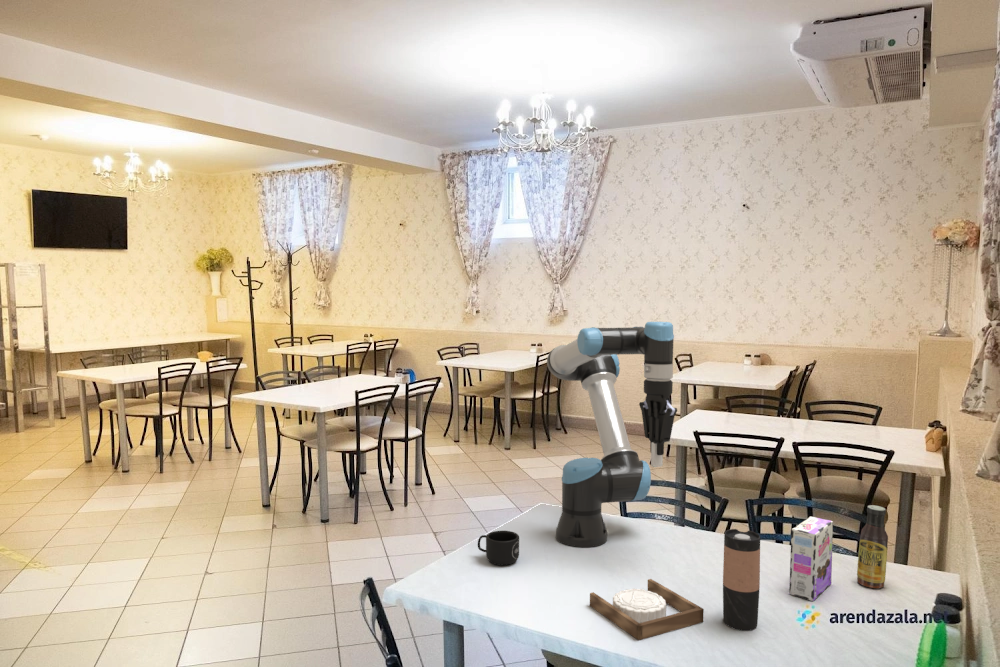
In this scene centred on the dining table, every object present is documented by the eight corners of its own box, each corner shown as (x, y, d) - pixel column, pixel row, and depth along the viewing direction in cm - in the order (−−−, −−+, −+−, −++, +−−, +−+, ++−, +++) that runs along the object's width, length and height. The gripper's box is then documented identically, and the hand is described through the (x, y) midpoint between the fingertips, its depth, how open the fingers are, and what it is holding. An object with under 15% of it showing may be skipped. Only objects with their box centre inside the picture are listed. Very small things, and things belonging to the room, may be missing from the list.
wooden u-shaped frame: (589, 605, 160) (589, 593, 160) (650, 590, 168) (650, 578, 168) (638, 640, 144) (638, 626, 144) (703, 622, 152) (703, 608, 152)
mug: (524, 558, 189) (524, 533, 189) (511, 570, 181) (511, 543, 180) (484, 551, 194) (485, 526, 194) (470, 562, 186) (470, 537, 185)
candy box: (813, 602, 163) (815, 534, 162) (788, 594, 167) (790, 528, 166) (832, 584, 173) (834, 520, 172) (807, 577, 177) (809, 514, 176)
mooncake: (664, 629, 150) (664, 612, 150) (609, 621, 153) (609, 605, 153) (667, 605, 161) (667, 590, 161) (616, 598, 165) (616, 583, 165)
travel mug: (739, 634, 147) (741, 542, 146) (714, 618, 154) (716, 531, 153) (766, 627, 150) (768, 537, 149) (741, 612, 157) (743, 526, 156)
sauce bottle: (853, 584, 172) (856, 507, 171) (860, 577, 177) (863, 501, 176) (882, 592, 168) (885, 512, 167) (889, 584, 172) (892, 507, 171)
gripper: (631, 377, 188) (630, 462, 189) (663, 382, 176) (661, 473, 178) (653, 375, 191) (652, 459, 193) (685, 381, 180) (684, 470, 181)
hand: (656, 466), depth 185 cm, fingers closed
